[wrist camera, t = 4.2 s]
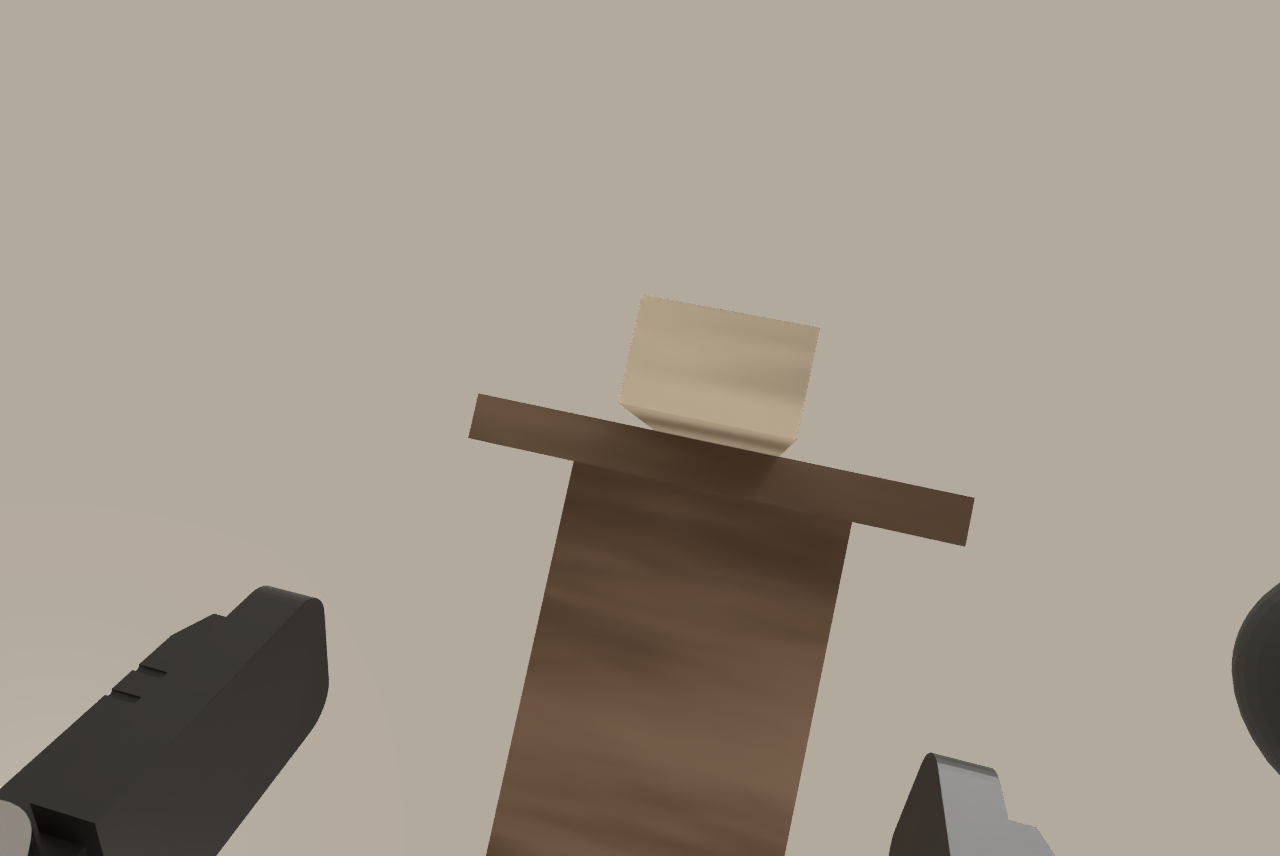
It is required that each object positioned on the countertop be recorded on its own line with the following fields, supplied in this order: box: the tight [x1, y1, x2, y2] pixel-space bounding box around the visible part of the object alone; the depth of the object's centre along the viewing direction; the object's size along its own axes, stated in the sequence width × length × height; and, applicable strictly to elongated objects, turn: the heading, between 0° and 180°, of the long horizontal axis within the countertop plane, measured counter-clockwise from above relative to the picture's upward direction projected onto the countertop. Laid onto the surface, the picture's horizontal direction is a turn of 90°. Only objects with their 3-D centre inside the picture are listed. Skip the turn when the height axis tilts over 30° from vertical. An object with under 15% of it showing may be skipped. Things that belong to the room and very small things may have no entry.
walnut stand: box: [468, 394, 974, 856], centre depth 33 cm, size 16×16×32 cm
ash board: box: [618, 295, 820, 457], centre depth 28 cm, size 20×4×2 cm, turn 173°
